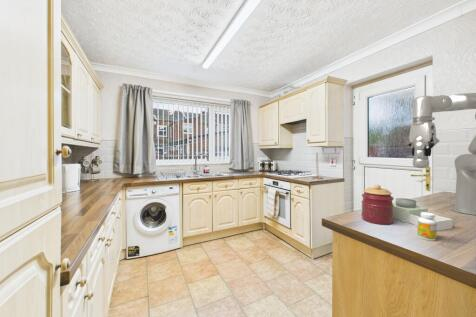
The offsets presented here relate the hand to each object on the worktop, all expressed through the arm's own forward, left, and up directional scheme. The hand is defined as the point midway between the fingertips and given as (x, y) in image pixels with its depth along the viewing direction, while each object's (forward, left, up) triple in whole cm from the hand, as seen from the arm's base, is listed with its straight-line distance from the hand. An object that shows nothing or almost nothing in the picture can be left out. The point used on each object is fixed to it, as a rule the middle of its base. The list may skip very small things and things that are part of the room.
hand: (421, 155), depth 108 cm
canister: (+29, +1, -31) cm, 43 cm away
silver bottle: (0, 0, -7) cm, 7 cm away
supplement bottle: (+28, +22, -31) cm, 48 cm away
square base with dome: (+12, +7, -31) cm, 34 cm away
